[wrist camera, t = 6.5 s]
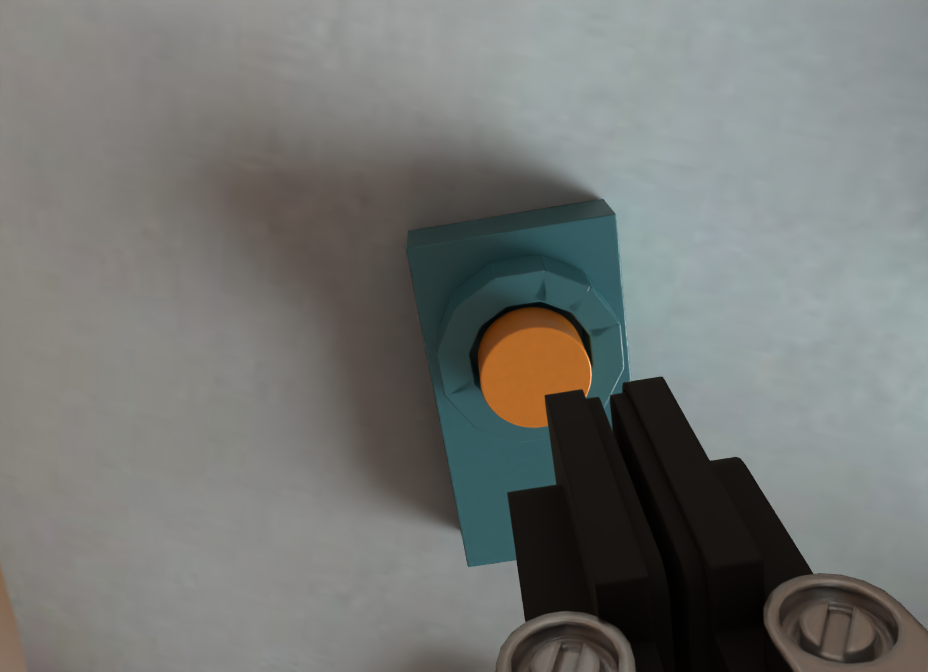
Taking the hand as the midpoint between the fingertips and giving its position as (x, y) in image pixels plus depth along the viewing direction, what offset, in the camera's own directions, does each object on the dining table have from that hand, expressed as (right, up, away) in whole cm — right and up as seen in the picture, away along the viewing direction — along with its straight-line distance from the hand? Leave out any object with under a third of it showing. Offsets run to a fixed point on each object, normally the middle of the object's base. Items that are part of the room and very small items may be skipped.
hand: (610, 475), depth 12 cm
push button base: (+1, 0, +25) cm, 25 cm away
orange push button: (0, +1, +20) cm, 20 cm away
